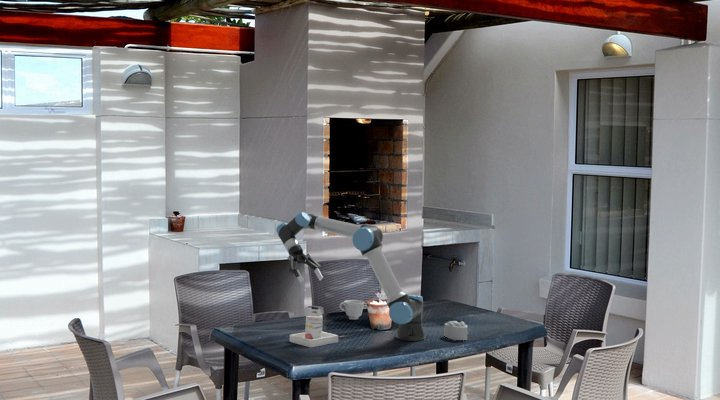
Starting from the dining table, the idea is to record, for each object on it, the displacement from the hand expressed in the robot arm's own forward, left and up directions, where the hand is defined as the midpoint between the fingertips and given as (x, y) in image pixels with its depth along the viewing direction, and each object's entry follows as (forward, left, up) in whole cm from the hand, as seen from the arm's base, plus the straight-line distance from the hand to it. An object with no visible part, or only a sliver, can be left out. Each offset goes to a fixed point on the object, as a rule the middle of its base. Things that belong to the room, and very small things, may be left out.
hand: (311, 280), depth 468 cm
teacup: (+20, -50, -30) cm, 62 cm away
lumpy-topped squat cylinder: (-50, -60, -30) cm, 83 cm away
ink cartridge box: (-11, +7, -28) cm, 31 cm away
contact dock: (-11, +7, -30) cm, 32 cm away
